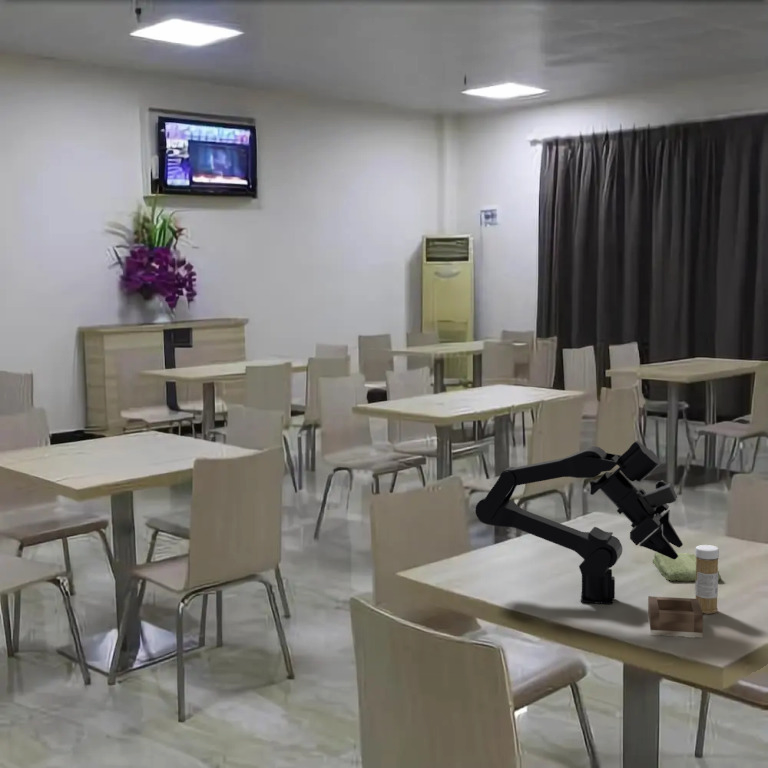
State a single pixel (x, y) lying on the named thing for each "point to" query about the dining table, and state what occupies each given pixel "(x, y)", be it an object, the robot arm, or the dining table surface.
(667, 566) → the washcloth
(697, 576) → the sprinkles bottle
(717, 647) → the dining table surface
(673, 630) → the socket block
